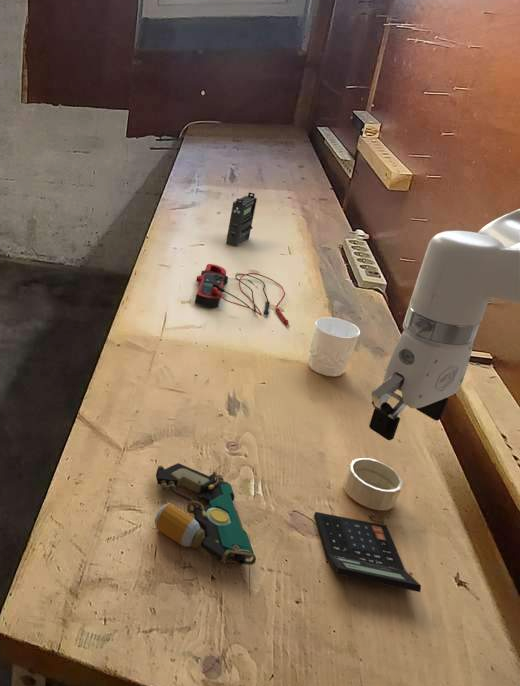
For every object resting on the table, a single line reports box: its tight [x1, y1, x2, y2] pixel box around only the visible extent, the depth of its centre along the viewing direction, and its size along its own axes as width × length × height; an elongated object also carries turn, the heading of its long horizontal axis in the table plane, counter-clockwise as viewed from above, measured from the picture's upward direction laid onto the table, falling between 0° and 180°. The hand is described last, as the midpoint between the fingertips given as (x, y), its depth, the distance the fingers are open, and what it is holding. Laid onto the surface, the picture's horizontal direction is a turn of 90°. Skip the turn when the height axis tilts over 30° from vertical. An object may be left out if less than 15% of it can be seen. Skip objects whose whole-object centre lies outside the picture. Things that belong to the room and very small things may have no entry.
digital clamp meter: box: [194, 263, 291, 328], centre depth 146 cm, size 23×4×25 cm
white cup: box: [307, 316, 361, 377], centre depth 116 cm, size 8×8×10 cm
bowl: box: [343, 457, 404, 511], centre depth 88 cm, size 7×7×4 cm
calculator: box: [313, 511, 422, 593], centre depth 78 cm, size 9×12×3 cm
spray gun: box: [154, 462, 257, 566], centre depth 85 cm, size 4×17×15 cm
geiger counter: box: [225, 191, 258, 247], centre depth 175 cm, size 10×4×15 cm, turn 132°
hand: (404, 424), depth 82 cm, fingers open, 9 cm apart
